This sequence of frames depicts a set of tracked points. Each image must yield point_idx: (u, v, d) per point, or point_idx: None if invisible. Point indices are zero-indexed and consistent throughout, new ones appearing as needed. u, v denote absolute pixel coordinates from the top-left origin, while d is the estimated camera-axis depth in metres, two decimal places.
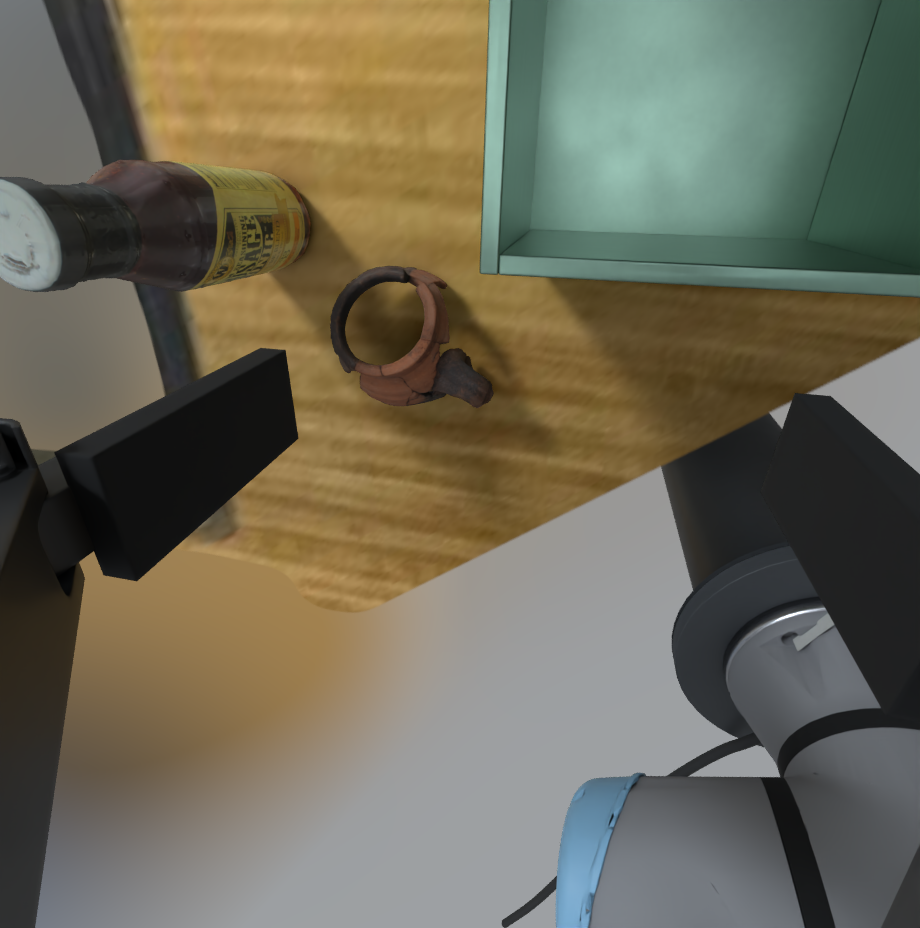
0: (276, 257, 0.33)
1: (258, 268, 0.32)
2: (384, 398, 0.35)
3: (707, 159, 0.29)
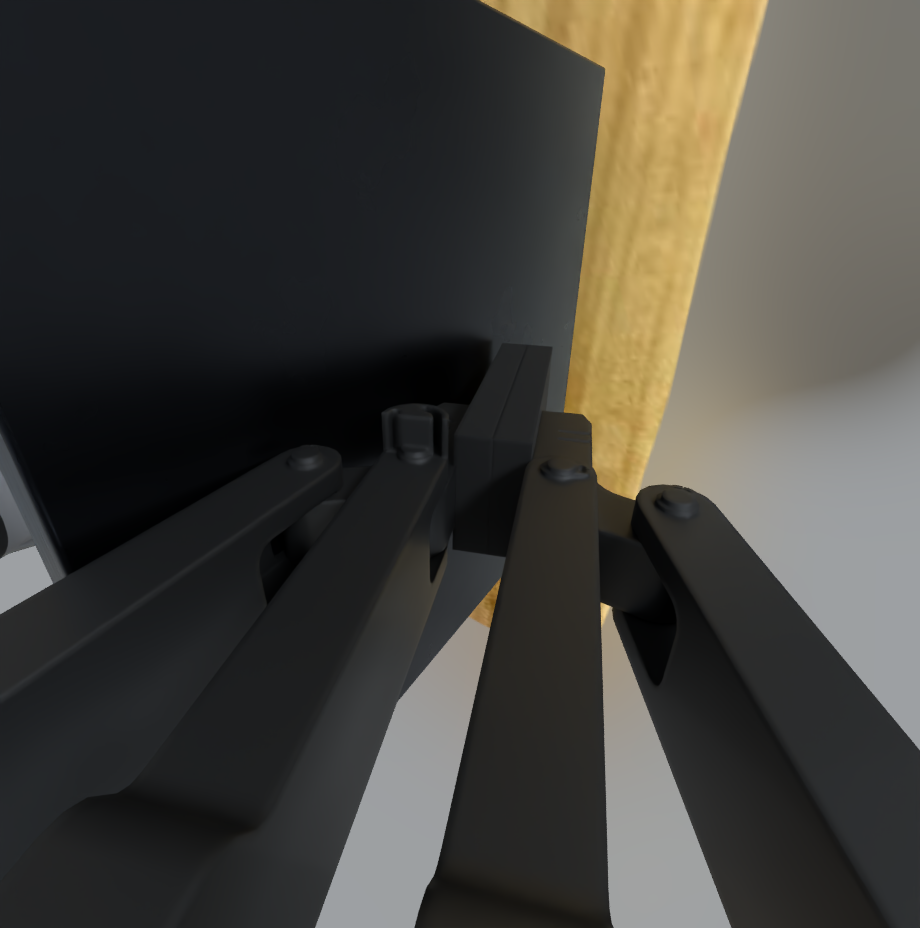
0: None
1: None
2: None
3: None
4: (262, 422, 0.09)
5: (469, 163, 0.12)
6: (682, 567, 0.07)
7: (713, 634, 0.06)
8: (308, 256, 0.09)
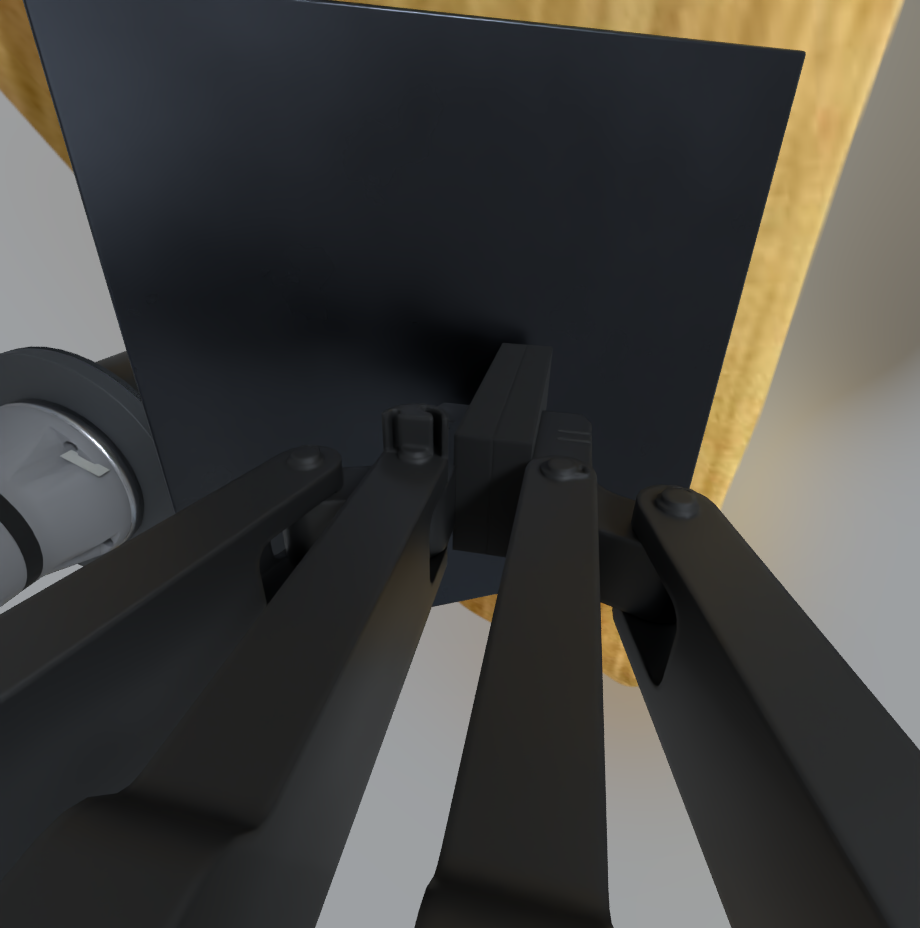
0: None
1: None
2: None
3: None
4: (266, 336, 0.14)
5: (513, 166, 0.13)
6: (682, 567, 0.07)
7: (713, 634, 0.06)
8: (313, 231, 0.13)
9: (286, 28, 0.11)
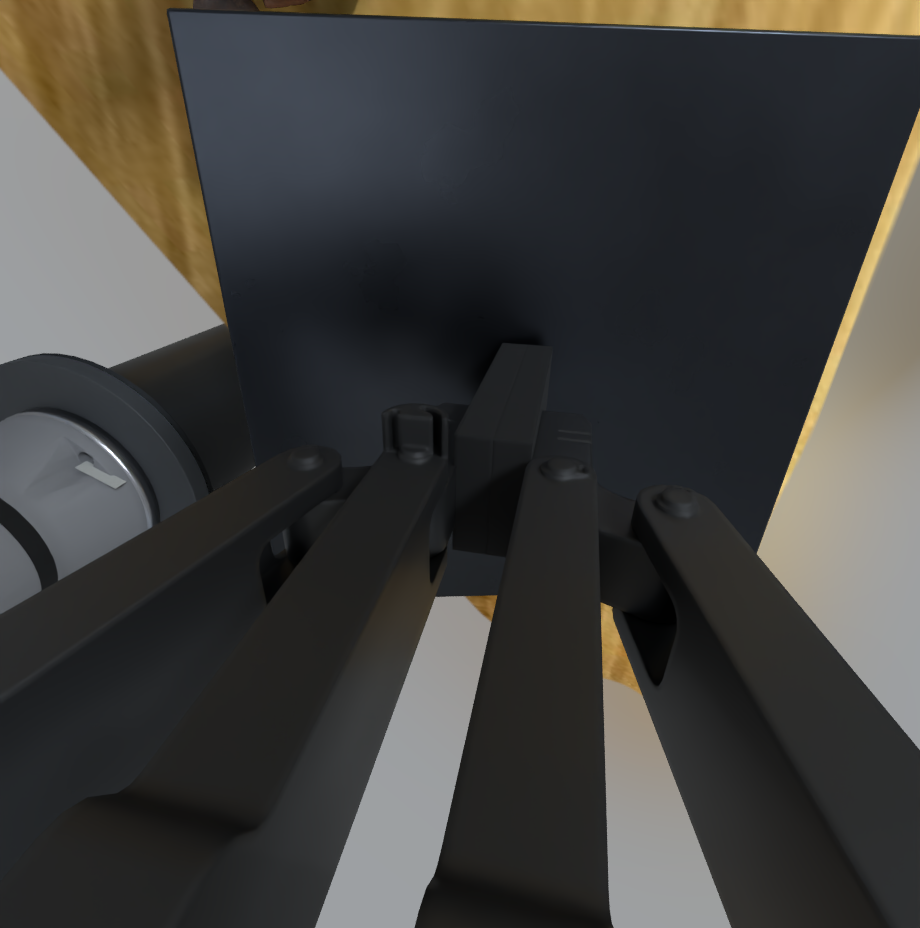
0: None
1: None
2: None
3: None
4: (343, 321, 0.15)
5: (587, 168, 0.13)
6: (682, 567, 0.07)
7: (714, 634, 0.06)
8: (390, 228, 0.14)
9: (378, 45, 0.12)
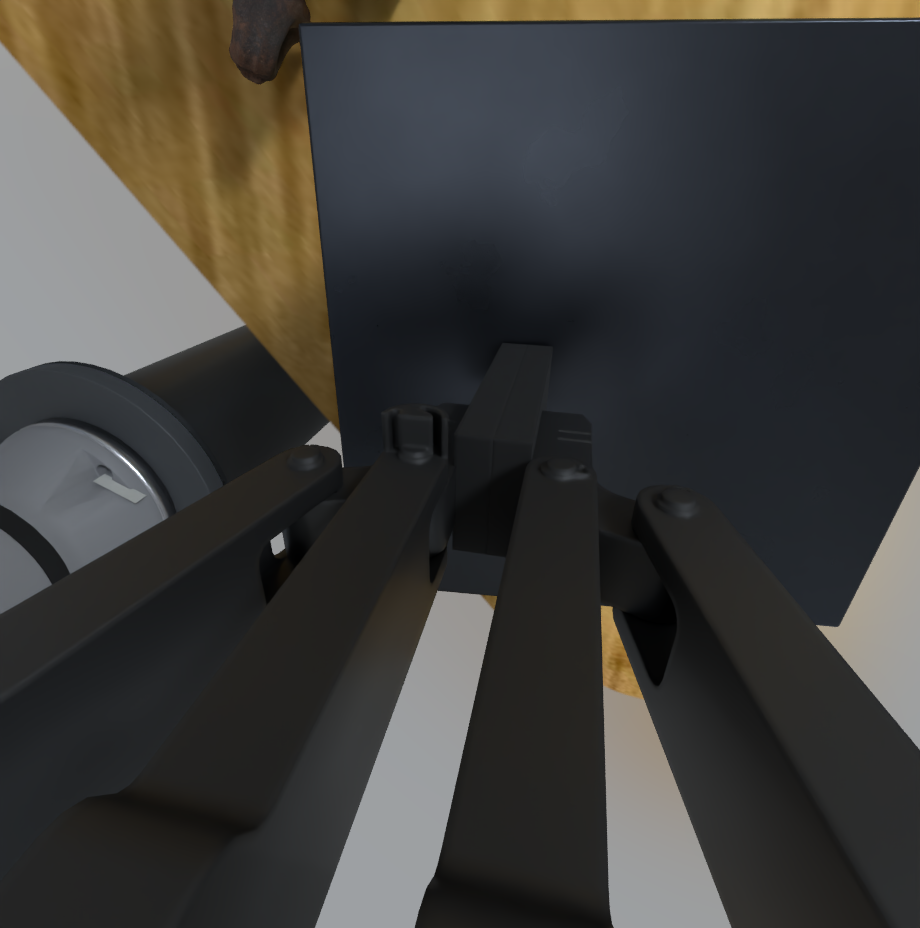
0: None
1: None
2: None
3: None
4: (435, 319, 0.15)
5: (696, 169, 0.13)
6: (683, 567, 0.07)
7: (714, 634, 0.06)
8: (487, 230, 0.14)
9: (490, 50, 0.12)
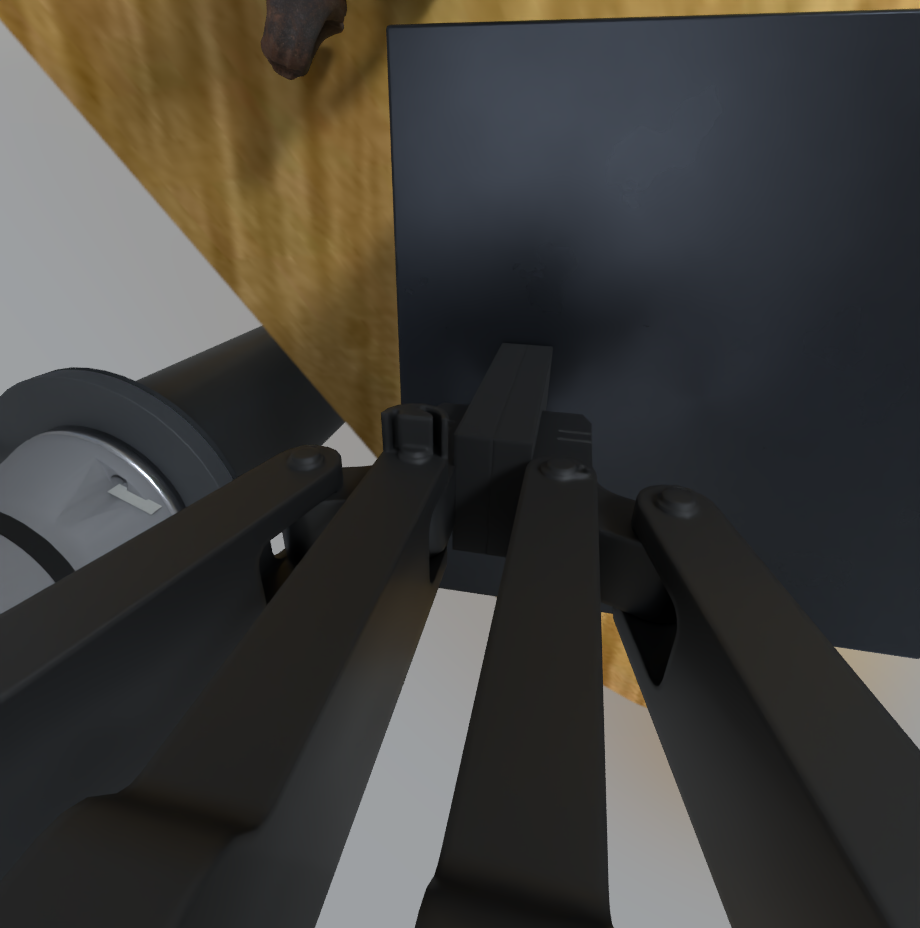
0: None
1: None
2: None
3: None
4: (505, 322, 0.15)
5: (793, 170, 0.12)
6: (683, 567, 0.07)
7: (714, 634, 0.06)
8: (565, 232, 0.14)
9: (580, 48, 0.12)
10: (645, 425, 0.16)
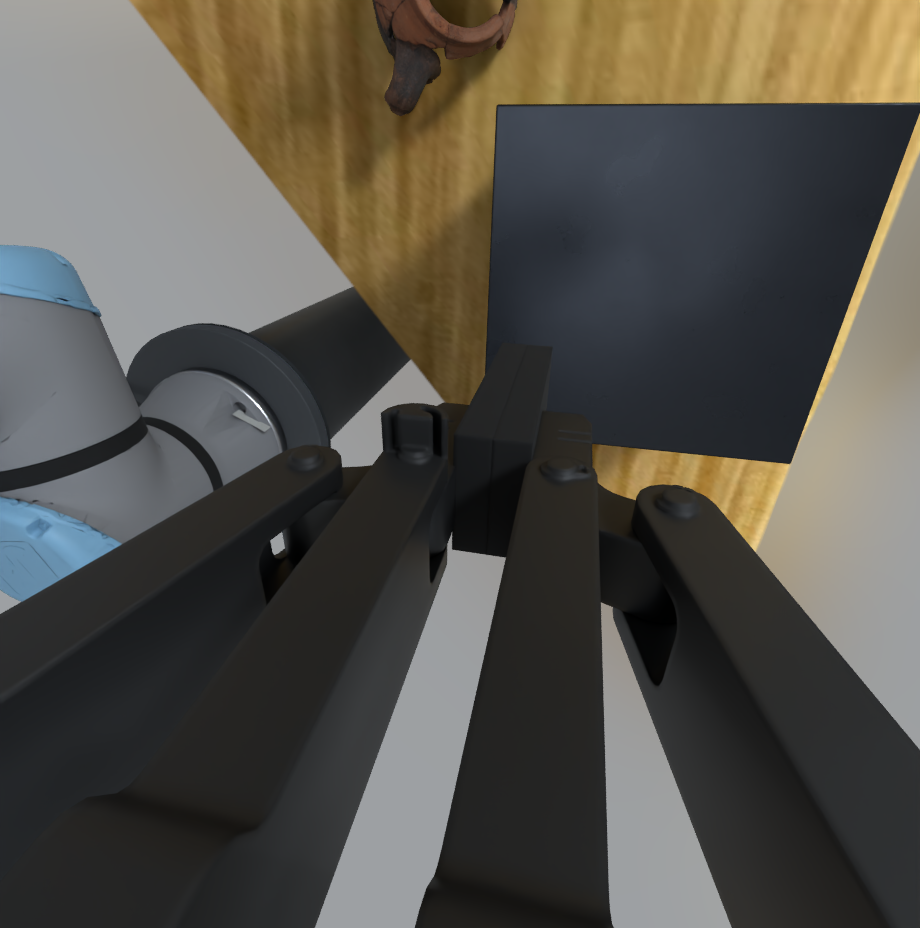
0: None
1: None
2: None
3: None
4: (550, 259, 0.28)
5: (698, 177, 0.25)
6: (683, 567, 0.07)
7: (714, 634, 0.06)
8: (584, 209, 0.27)
9: (593, 118, 0.25)
10: (627, 318, 0.29)
